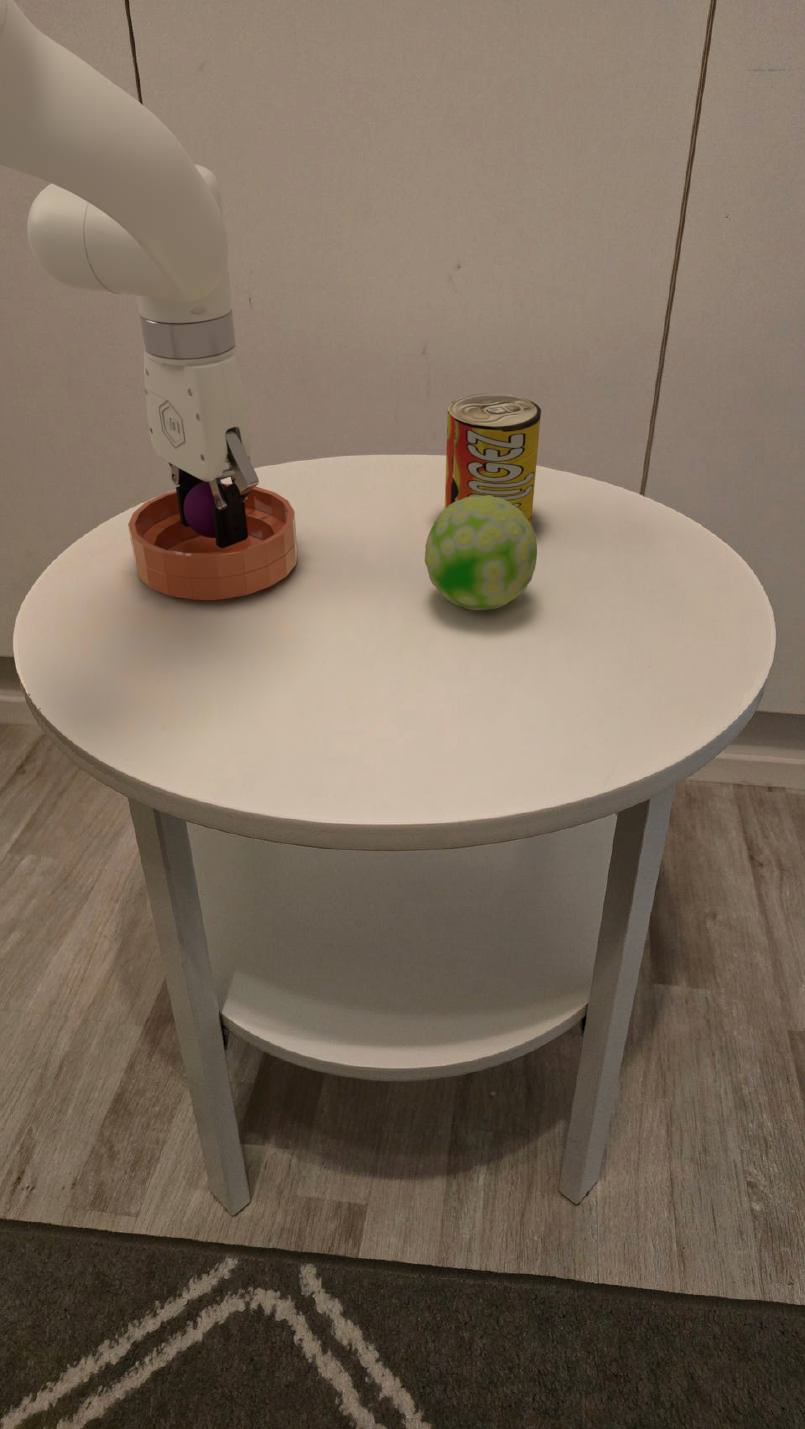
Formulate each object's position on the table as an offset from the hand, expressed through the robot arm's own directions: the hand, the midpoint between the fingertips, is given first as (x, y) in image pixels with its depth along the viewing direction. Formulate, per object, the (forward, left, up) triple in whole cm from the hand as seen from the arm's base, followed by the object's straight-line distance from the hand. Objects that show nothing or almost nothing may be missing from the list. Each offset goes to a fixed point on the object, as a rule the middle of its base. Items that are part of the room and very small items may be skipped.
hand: (214, 530), depth 93 cm
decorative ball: (+20, -16, -4) cm, 26 cm away
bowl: (0, 0, -4) cm, 4 cm away
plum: (0, 0, 0) cm, 0 cm away
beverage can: (+28, -2, -4) cm, 28 cm away
